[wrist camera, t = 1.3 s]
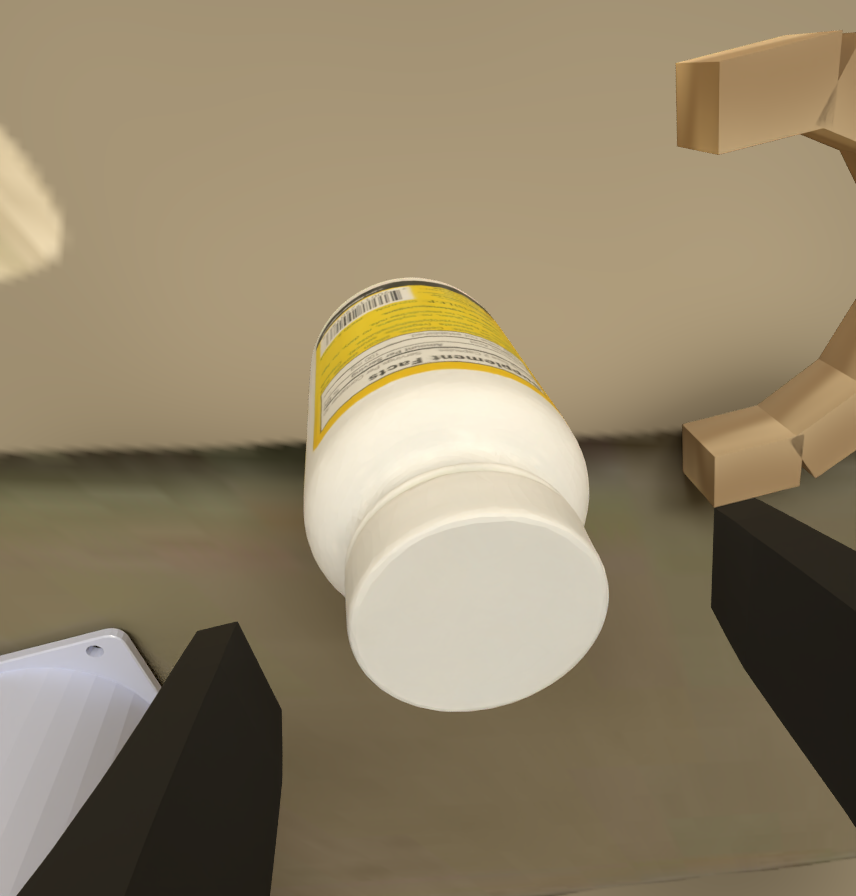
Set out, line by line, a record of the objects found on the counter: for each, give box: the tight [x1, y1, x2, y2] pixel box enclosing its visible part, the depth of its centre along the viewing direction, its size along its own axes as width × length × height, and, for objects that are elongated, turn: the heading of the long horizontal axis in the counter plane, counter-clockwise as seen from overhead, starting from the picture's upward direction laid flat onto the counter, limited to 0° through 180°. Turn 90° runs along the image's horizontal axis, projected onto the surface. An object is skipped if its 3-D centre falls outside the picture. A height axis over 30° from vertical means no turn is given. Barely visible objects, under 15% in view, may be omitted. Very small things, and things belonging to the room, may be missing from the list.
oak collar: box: [676, 30, 856, 507], centre depth 17 cm, size 7×12×2 cm, turn 13°
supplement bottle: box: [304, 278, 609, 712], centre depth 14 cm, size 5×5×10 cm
